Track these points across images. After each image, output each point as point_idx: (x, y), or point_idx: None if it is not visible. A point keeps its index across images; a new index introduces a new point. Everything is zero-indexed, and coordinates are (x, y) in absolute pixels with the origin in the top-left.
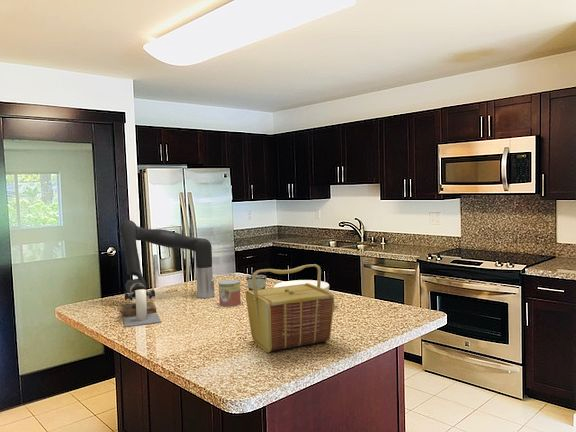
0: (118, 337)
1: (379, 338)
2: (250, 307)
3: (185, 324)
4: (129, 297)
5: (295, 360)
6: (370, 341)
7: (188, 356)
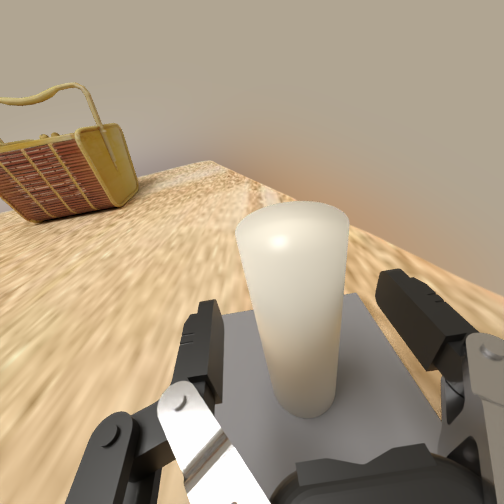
0: None
1: None
2: (95, 159)
3: (150, 284)
4: (413, 280)
5: None
6: None
7: (213, 186)
